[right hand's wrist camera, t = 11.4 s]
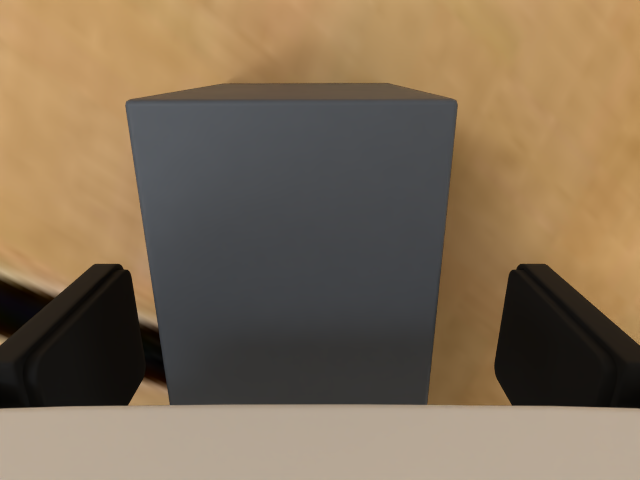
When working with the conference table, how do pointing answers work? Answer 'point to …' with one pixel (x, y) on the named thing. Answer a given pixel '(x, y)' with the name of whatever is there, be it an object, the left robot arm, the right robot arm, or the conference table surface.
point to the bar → (294, 239)
